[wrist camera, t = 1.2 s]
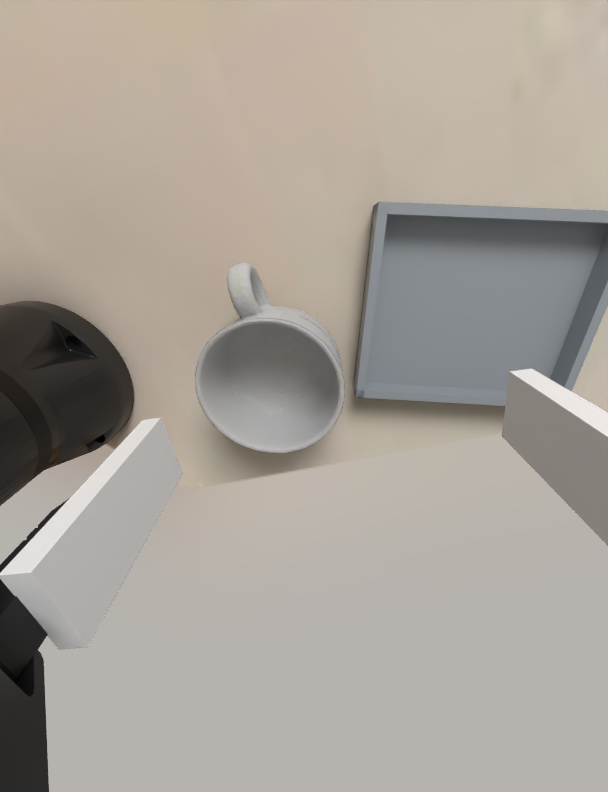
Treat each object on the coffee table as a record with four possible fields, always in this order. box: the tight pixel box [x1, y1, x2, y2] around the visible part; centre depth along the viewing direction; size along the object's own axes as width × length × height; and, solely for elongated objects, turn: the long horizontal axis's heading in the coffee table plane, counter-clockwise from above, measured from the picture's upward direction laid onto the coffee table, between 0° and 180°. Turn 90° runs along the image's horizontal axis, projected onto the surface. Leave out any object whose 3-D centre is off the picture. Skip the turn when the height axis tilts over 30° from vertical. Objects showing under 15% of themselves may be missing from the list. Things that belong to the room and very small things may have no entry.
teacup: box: [195, 263, 345, 453], centre depth 26 cm, size 14×11×8 cm
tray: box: [354, 202, 608, 406], centre depth 27 cm, size 18×15×2 cm
